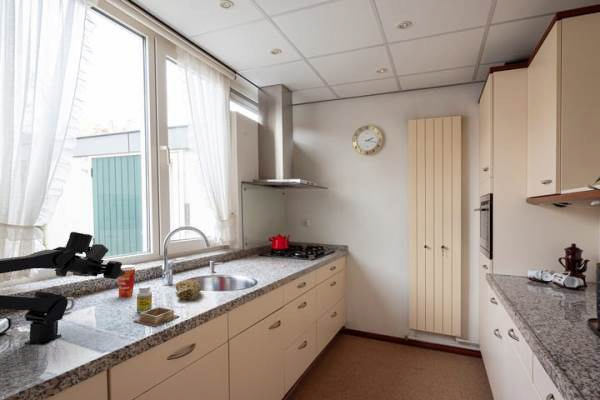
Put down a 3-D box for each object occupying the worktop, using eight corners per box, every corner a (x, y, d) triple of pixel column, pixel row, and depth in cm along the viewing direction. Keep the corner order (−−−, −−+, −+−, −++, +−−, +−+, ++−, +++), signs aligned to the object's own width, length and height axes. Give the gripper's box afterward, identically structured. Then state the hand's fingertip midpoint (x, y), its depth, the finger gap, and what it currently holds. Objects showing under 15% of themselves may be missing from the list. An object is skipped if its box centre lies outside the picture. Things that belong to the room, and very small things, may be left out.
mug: (46, 320, 109) (47, 302, 109) (39, 316, 113) (40, 299, 113) (78, 312, 118) (78, 295, 118) (70, 309, 121) (71, 293, 121)
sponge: (200, 303, 136) (205, 283, 155) (196, 287, 134) (202, 269, 154) (170, 309, 134) (179, 289, 153) (166, 293, 132) (176, 275, 152)
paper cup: (112, 297, 138) (113, 266, 139) (126, 292, 146) (127, 264, 146) (125, 299, 136) (126, 268, 136) (139, 294, 143) (140, 265, 144)
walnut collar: (155, 327, 105) (155, 318, 105) (133, 321, 109) (133, 313, 109) (179, 317, 115) (179, 309, 115) (158, 312, 119) (158, 305, 119)
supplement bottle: (150, 307, 125) (151, 284, 125) (152, 311, 120) (153, 287, 121) (135, 309, 122) (136, 286, 122) (137, 313, 117) (138, 289, 118)
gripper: (109, 243, 104) (140, 253, 118) (68, 241, 109) (103, 251, 123) (97, 275, 100) (131, 282, 114) (55, 271, 105) (93, 278, 119)
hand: (115, 272), depth 118 cm, fingers open, 9 cm apart
